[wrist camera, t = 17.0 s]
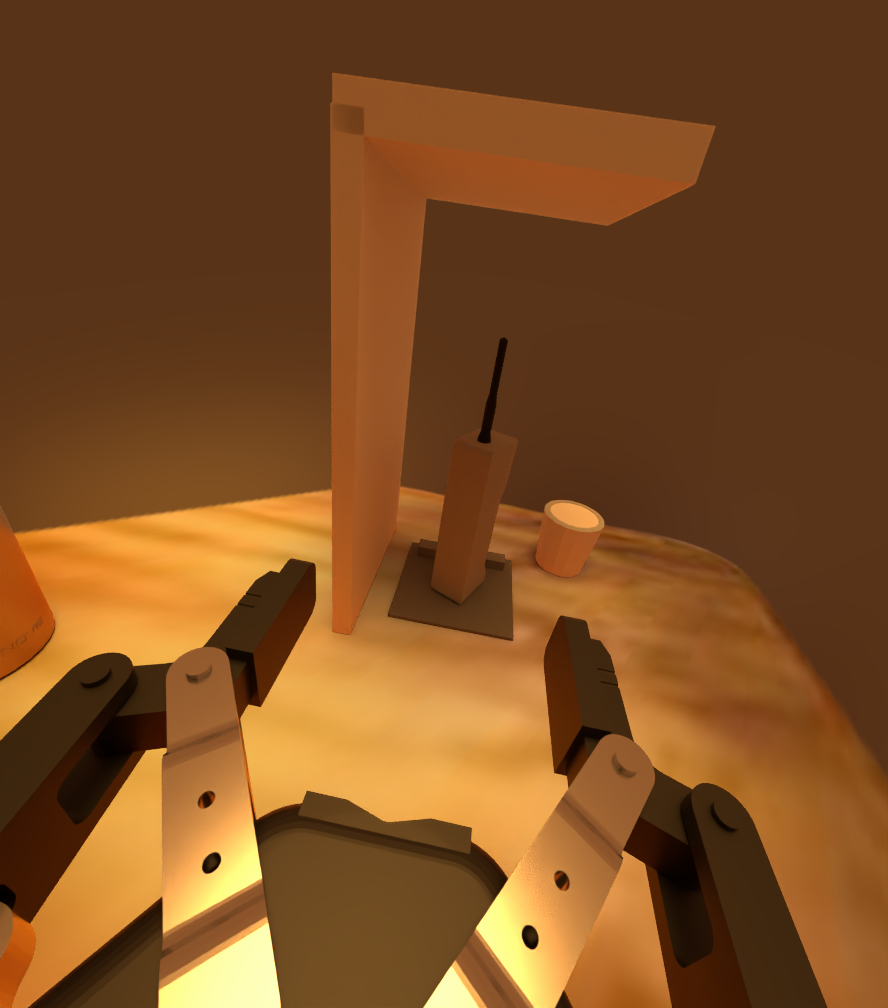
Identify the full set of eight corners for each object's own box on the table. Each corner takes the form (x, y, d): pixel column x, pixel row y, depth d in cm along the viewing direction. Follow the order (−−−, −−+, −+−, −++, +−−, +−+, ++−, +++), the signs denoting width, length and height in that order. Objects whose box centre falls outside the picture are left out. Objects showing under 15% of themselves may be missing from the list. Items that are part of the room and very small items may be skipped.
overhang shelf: (332, 631, 36) (330, 72, 18) (383, 524, 52) (410, 165, 34) (522, 669, 36) (715, 125, 18) (516, 549, 51) (615, 195, 33)
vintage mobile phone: (484, 582, 44) (542, 340, 32) (459, 606, 41) (515, 344, 28) (455, 566, 46) (501, 331, 33) (429, 589, 42) (470, 333, 30)
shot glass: (590, 585, 47) (610, 536, 43) (531, 574, 47) (546, 524, 44) (581, 551, 53) (598, 505, 49) (528, 541, 53) (542, 494, 50)
